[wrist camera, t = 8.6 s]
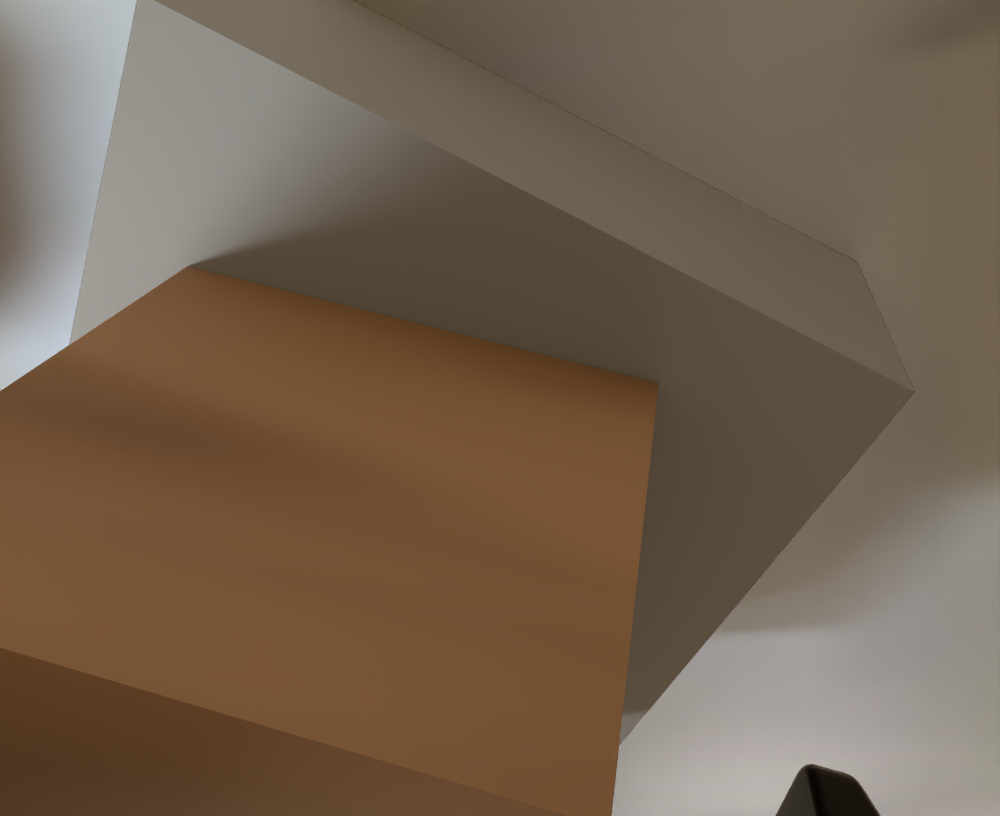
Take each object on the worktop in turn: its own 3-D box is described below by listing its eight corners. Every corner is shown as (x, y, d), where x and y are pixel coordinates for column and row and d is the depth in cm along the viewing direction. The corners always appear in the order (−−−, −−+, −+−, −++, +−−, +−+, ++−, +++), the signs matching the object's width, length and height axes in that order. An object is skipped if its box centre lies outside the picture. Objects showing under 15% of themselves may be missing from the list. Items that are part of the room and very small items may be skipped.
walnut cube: (558, 720, 11) (465, 1210, 7) (191, 615, 12) (-105, 1015, 7) (659, 383, 9) (610, 829, 4) (187, 265, 9) (-266, 569, 5)
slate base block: (581, 634, 16) (546, 832, 12) (174, 433, 16) (23, 579, 12) (853, 254, 12) (914, 391, 8) (309, -29, 11) (138, -8, 8)
